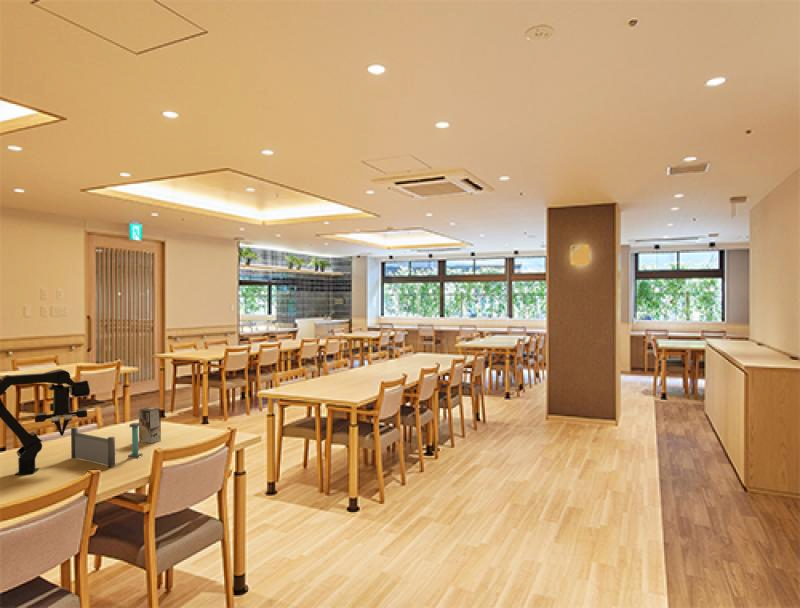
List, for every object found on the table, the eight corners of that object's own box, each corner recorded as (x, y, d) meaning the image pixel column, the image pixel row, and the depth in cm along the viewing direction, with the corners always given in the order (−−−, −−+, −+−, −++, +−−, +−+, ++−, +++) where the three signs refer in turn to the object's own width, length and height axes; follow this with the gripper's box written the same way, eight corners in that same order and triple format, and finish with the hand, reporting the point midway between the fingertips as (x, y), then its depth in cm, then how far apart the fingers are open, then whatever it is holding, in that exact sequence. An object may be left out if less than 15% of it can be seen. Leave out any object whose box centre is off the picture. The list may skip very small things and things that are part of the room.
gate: (70, 457, 238) (69, 428, 237) (75, 455, 240) (75, 427, 240) (110, 466, 224) (110, 436, 224) (116, 465, 227) (116, 434, 227)
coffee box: (161, 440, 267) (161, 408, 267) (150, 443, 261) (150, 411, 261) (149, 438, 271) (149, 406, 271) (138, 441, 266) (137, 409, 265)
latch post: (127, 457, 239) (127, 424, 239) (131, 455, 242) (131, 422, 242) (138, 457, 239) (138, 424, 238) (142, 455, 242) (142, 422, 242)
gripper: (86, 393, 239) (86, 428, 239) (36, 398, 229) (36, 434, 229) (86, 397, 230) (87, 433, 230) (34, 402, 220) (35, 440, 220)
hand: (62, 435), depth 227 cm, fingers closed
